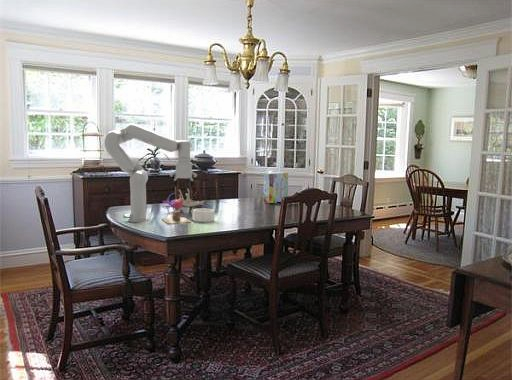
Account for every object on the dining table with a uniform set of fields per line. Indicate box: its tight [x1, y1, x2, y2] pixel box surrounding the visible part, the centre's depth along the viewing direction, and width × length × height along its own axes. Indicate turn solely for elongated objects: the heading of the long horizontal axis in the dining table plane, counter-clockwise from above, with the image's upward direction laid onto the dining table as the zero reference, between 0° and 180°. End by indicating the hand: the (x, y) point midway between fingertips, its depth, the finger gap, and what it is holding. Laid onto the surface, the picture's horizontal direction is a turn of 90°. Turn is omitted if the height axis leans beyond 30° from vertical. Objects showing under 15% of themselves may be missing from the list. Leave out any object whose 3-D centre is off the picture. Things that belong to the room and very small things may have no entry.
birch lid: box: [161, 210, 192, 226], centre depth 272 cm, size 15×15×6 cm
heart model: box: [162, 192, 184, 214], centre depth 307 cm, size 15×9×18 cm
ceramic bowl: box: [191, 207, 215, 223], centre depth 280 cm, size 13×13×7 cm
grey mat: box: [159, 219, 195, 226], centre depth 272 cm, size 18×18×1 cm
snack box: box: [262, 171, 289, 204], centre depth 366 cm, size 22×9×26 cm, turn 130°
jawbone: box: [178, 187, 206, 208], centre depth 333 cm, size 25×10×14 cm, turn 51°
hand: (183, 186), depth 275 cm, fingers open, 9 cm apart
